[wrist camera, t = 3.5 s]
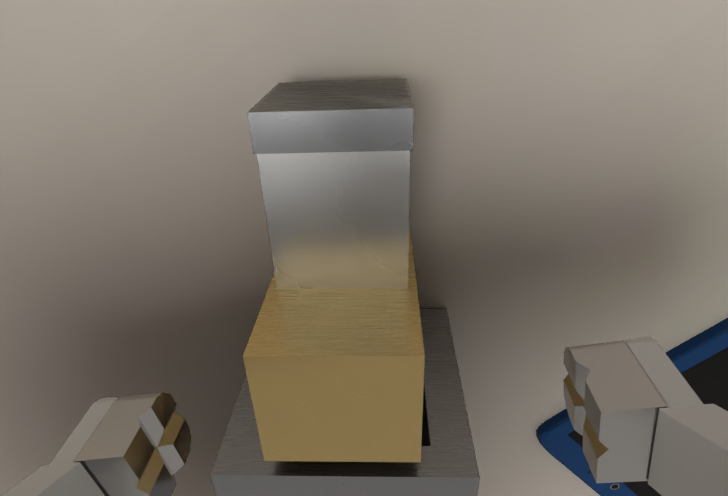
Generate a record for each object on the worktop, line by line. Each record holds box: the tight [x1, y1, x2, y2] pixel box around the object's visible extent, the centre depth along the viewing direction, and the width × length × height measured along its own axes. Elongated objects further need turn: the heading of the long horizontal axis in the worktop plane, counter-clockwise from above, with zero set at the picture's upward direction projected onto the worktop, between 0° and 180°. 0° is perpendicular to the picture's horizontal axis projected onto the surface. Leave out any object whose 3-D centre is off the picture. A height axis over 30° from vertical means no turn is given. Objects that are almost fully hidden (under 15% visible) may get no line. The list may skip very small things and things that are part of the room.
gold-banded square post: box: [243, 79, 425, 462], centre depth 14 cm, size 19×3×5 cm, turn 2°
